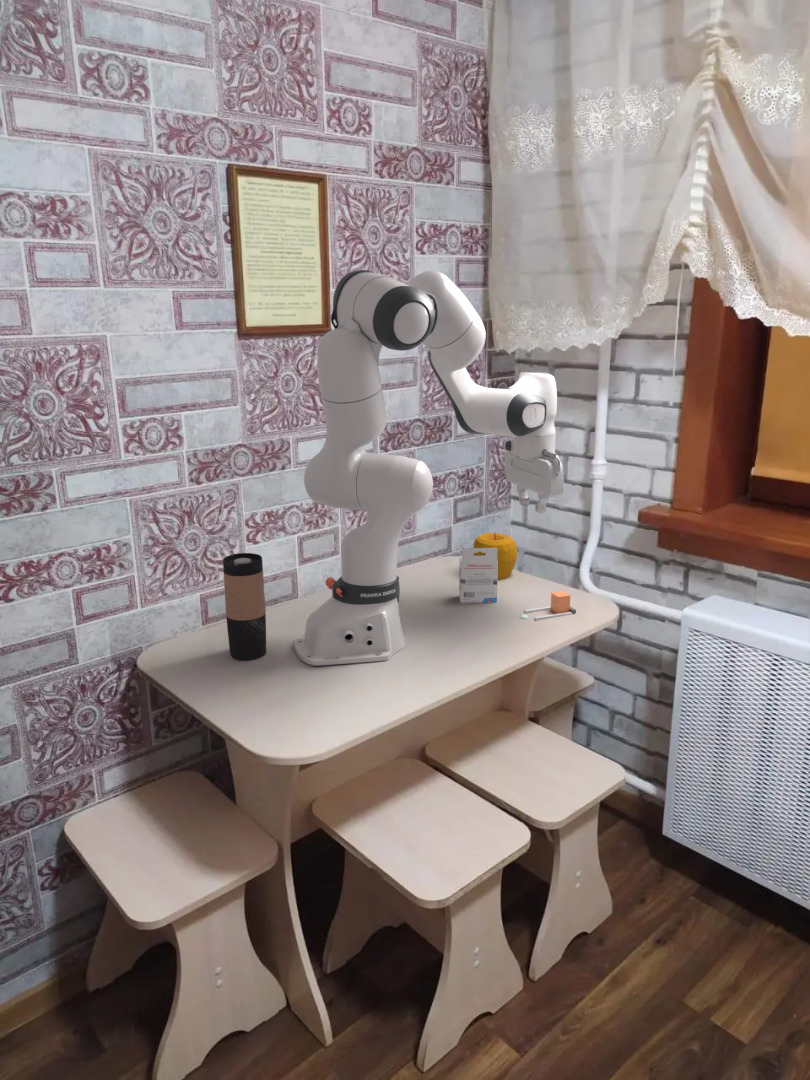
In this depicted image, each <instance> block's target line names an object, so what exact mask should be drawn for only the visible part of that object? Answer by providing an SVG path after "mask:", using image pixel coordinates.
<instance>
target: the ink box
mask: <svg viewBox="0 0 810 1080" xmlns="http://www.w3.org/2000/svg"><path fill="white" fill-rule="evenodd" d="M478 552H481V553H486V555H484V556H474V553H478ZM458 571H459V582H458V583H459V586H458V587H459V593H458V595H459V602H460V604H483V603H485V604H487V603H497V602H498V580H497V576H498V561H497V548H473V547H470V548H467V547H465V548H464V547H463V548H462V549H461V555H459V570H458Z"/></svg>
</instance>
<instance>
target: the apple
mask: <svg viewBox="0 0 810 1080" xmlns="http://www.w3.org/2000/svg"><path fill="white" fill-rule="evenodd" d="M472 548H497V561H498V576H497V581H499V580H503V579H508V578H509V577H510V575H511V574H512V572H513V570H514V569H515V566H516V563H517V558H518V546H517V543H516V540H515V539H513V538H512V537H511V536H509V535H507V534H503V533H498V532H486V533H483V534H480V535H479V536H477V537H475V539H474V542H473V547H472ZM473 555H474V556H484V555H486V553H481V552H478V553H474V554H473Z"/></svg>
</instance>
